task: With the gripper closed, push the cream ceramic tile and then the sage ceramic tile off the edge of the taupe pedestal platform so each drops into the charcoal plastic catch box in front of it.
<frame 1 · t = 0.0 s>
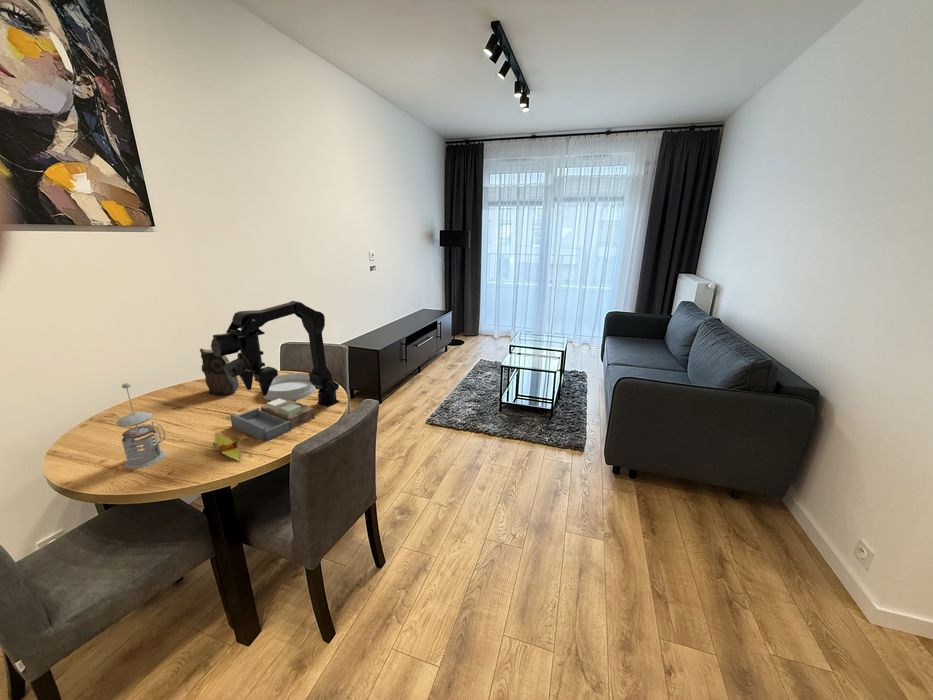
hand: (256, 392, 125), 15 cm above the table, tool pointing down, fingers open, 9 cm apart
sage tile: (290, 411, 135), point 4 cm above the table, touching taupe pedestal platform
cream tile: (277, 406, 138), point 4 cm above the table, touching taupe pedestal platform
taupe pedestal platform: (288, 417, 139), on the table
dish: (290, 392, 163), on the table
french press: (148, 459, 111), on the table
owl: (226, 391, 162), on the table
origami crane: (228, 452, 115), on the table
catch box: (261, 428, 130), on the table
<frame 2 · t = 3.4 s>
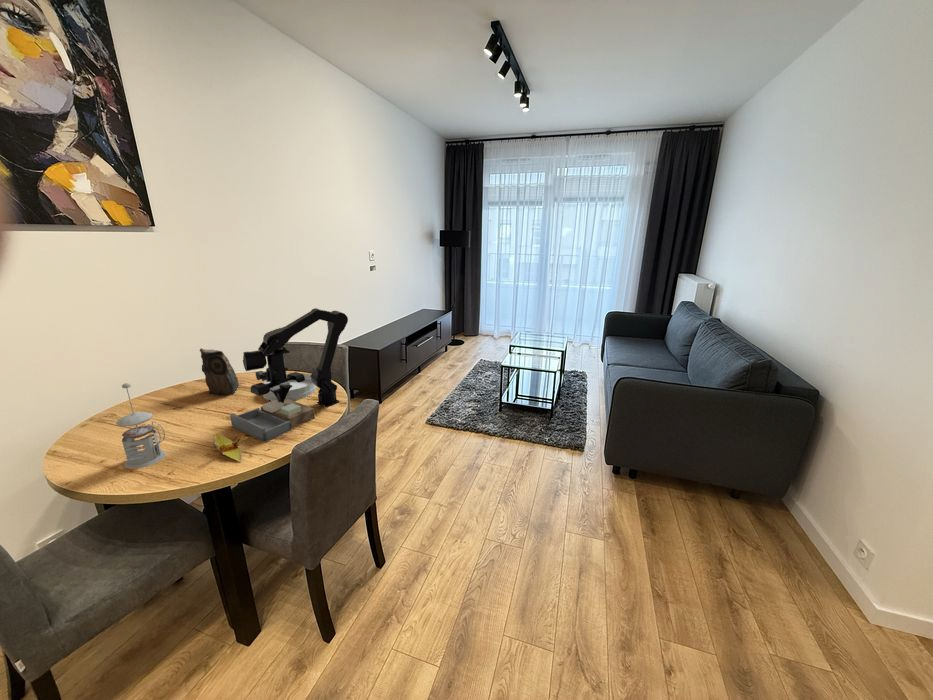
hand: (281, 403, 140), 5 cm above the table, tool pointing down, fingers closed
cream tile: (273, 408, 137), point 4 cm above the table, touching gripper
everything else where it was.
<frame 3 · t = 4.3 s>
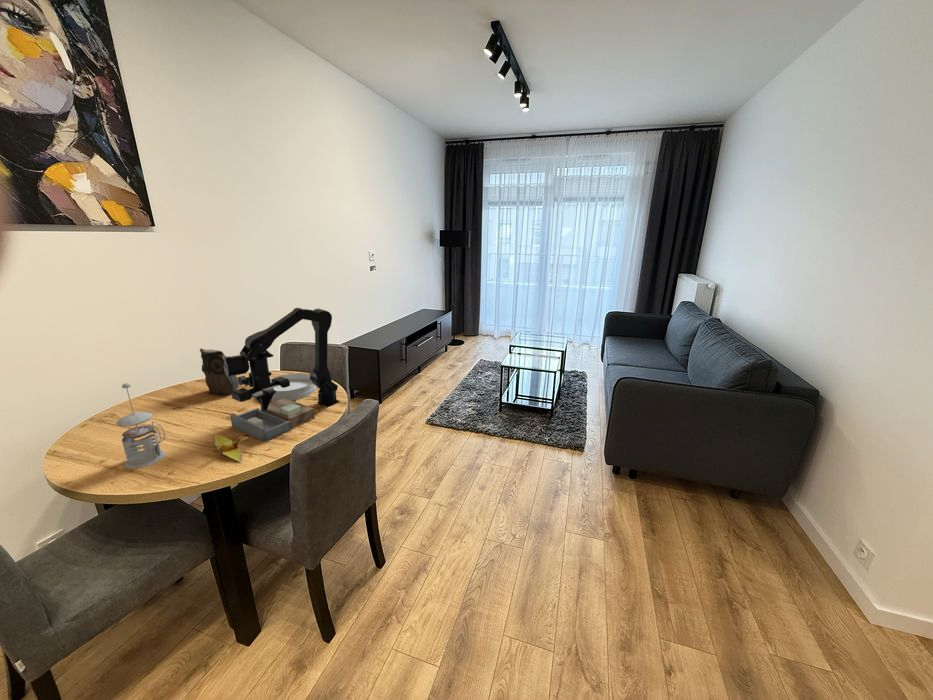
hand: (265, 409, 134), 5 cm above the table, tool pointing down, fingers closed
cream tile: (251, 421, 130), point 3 cm above the table, tilted 180°, touching catch box
everything else where it was.
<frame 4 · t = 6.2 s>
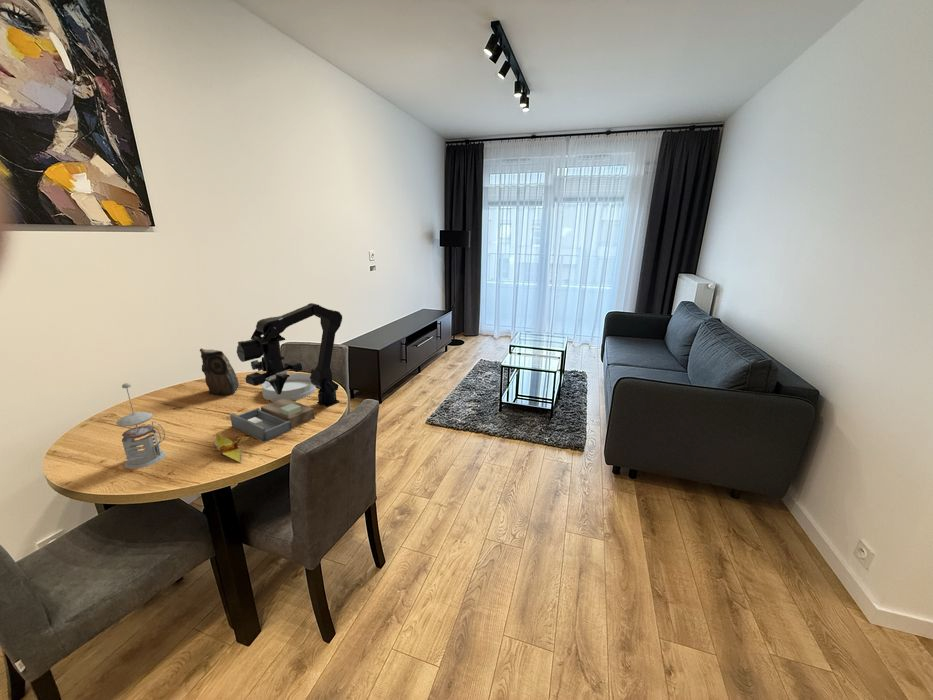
hand: (278, 394, 134), 10 cm above the table, tool pointing down, fingers closed
nothing on the table moved.
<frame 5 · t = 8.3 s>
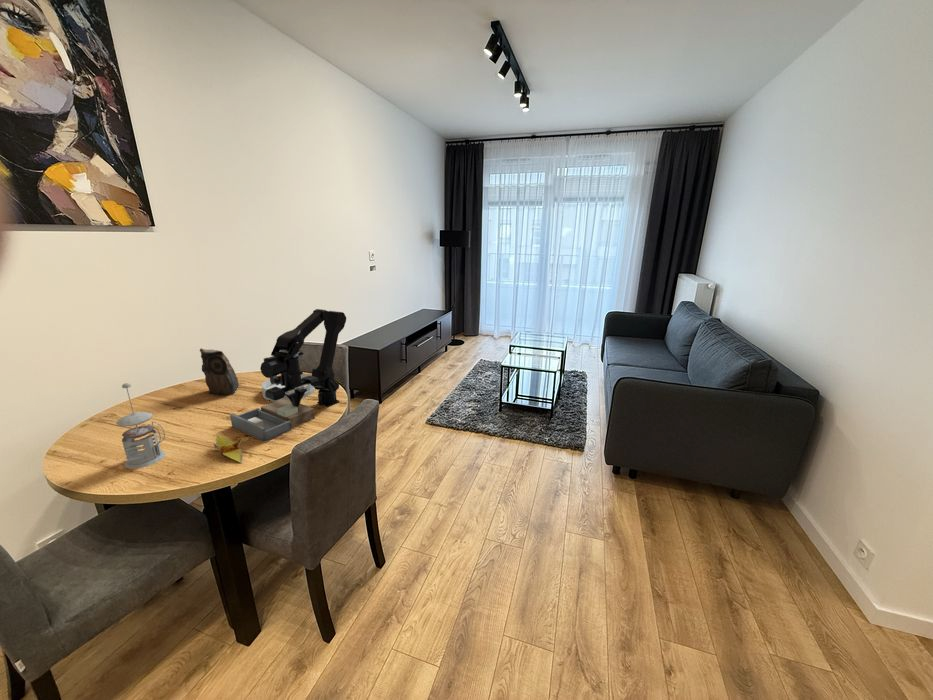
hand: (296, 408, 136), 5 cm above the table, tool pointing down, fingers closed
sage tile: (287, 413, 134), point 4 cm above the table, touching gripper
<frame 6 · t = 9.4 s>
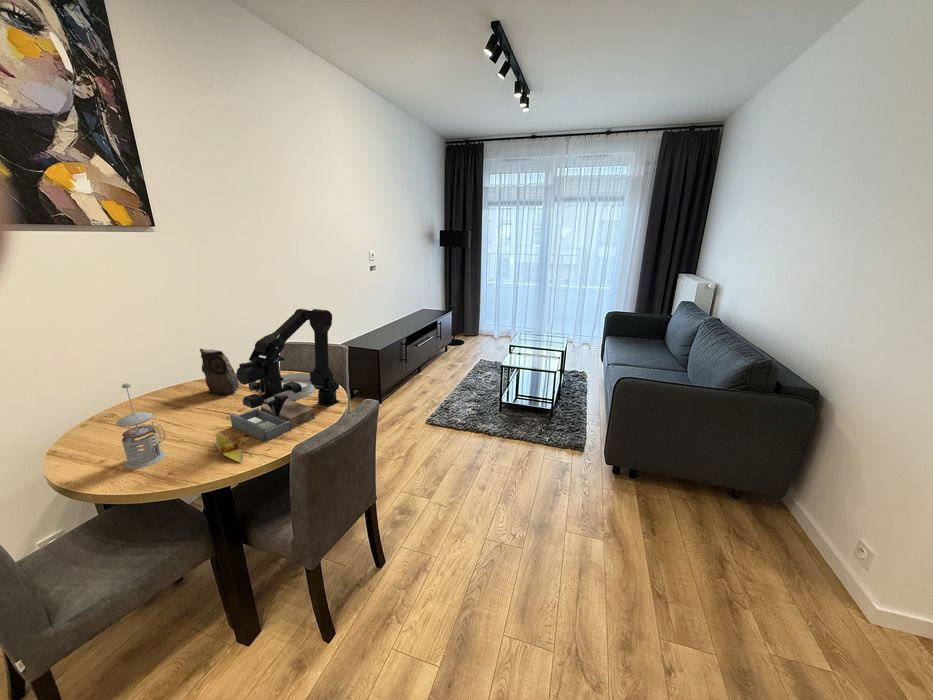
hand: (276, 416, 130), 5 cm above the table, tool pointing down, fingers closed
sage tile: (265, 425, 127), point 3 cm above the table, tilted 180°, touching catch box
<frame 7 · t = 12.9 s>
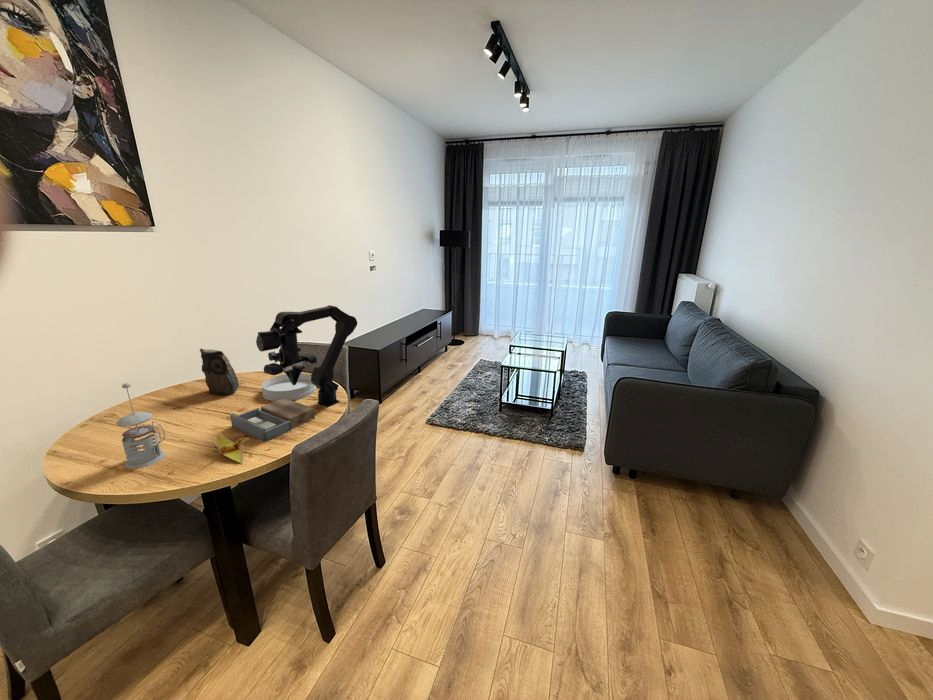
hand: (294, 384, 139), 12 cm above the table, tool pointing down, fingers closed
at the end: cream tile inside the target area (3.2 cm from its centre), point 2.6 cm above the table; sage tile inside the target area (4.0 cm from its centre), point 2.6 cm above the table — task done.
